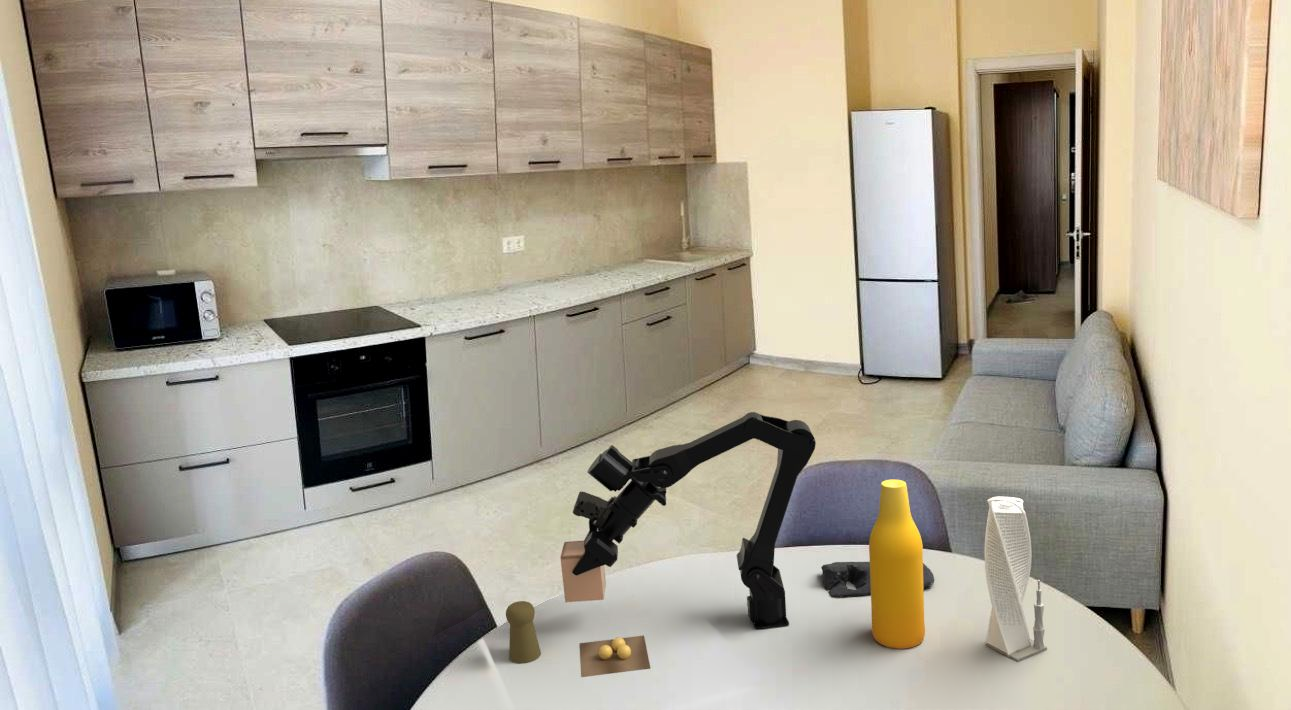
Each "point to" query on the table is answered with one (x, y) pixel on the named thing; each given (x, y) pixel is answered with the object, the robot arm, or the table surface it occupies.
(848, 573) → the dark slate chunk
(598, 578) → the tan upright cuboid
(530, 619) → the olive pawn game piece
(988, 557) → the skyscraper
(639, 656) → the walnut pad
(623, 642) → the amber marbles
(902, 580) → the beer bottle
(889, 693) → the table surface
